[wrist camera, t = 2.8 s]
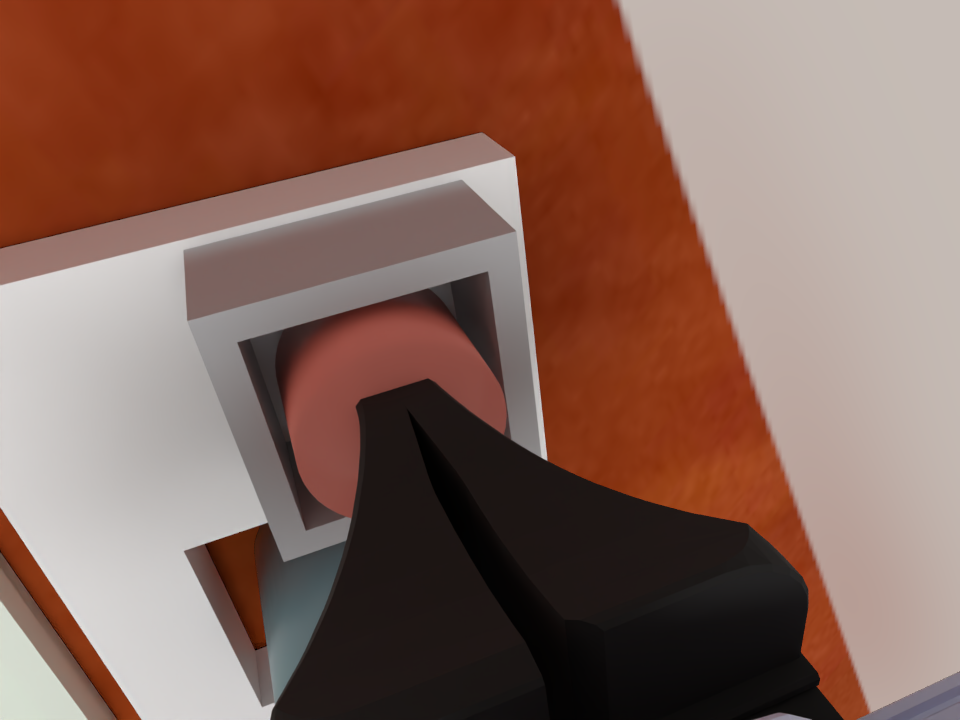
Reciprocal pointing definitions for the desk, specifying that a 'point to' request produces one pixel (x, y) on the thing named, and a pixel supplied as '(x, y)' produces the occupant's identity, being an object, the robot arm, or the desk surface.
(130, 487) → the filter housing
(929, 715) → the robot arm
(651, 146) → the desk surface
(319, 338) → the release plunger
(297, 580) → the cylinder
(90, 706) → the tray
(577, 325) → the desk surface
